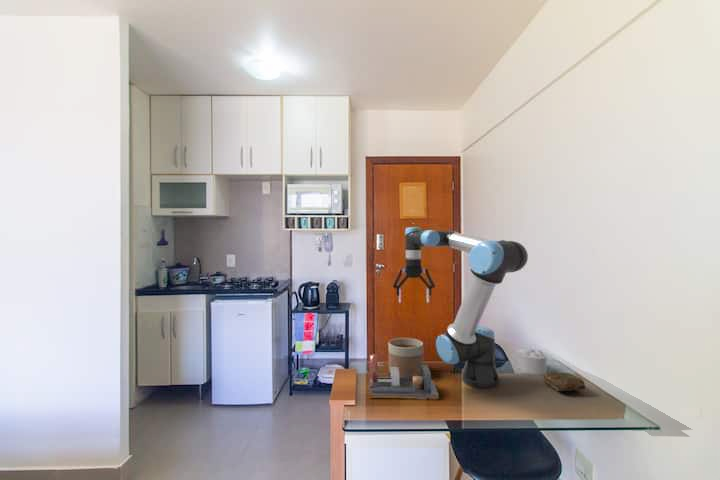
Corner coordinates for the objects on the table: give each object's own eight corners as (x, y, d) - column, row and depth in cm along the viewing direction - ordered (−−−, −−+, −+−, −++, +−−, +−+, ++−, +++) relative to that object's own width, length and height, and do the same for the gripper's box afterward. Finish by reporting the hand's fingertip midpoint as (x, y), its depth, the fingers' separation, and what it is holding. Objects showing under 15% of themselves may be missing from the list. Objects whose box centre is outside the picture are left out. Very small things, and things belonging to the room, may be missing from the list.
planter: (384, 376, 148) (383, 345, 148) (394, 364, 163) (394, 336, 163) (419, 381, 142) (418, 349, 142) (426, 368, 157) (426, 339, 157)
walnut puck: (422, 384, 134) (422, 375, 134) (423, 388, 130) (423, 379, 130) (412, 384, 134) (412, 375, 135) (413, 388, 130) (413, 379, 131)
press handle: (398, 381, 137) (397, 352, 137) (399, 390, 129) (399, 359, 129) (370, 381, 138) (369, 352, 138) (369, 389, 129) (369, 359, 129)
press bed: (432, 385, 138) (432, 363, 139) (438, 399, 125) (438, 375, 126) (370, 384, 140) (370, 362, 140) (370, 398, 127) (369, 374, 127)
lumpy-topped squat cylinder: (531, 363, 163) (531, 345, 163) (553, 373, 150) (552, 354, 150) (513, 365, 160) (513, 347, 160) (533, 375, 148) (533, 356, 148)
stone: (566, 382, 141) (564, 368, 141) (588, 394, 127) (585, 378, 127) (542, 384, 141) (540, 370, 141) (561, 396, 127) (559, 380, 127)
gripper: (437, 258, 165) (438, 300, 165) (387, 258, 166) (388, 300, 166) (440, 258, 158) (441, 303, 157) (388, 259, 159) (388, 303, 159)
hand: (413, 302), depth 162 cm, fingers open, 13 cm apart
